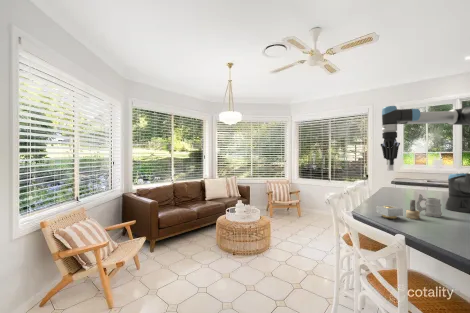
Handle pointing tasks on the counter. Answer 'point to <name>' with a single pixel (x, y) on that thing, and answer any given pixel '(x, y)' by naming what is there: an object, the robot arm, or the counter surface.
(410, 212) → the stand
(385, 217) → the hub
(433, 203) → the mug
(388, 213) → the grey square block
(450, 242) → the counter surface
